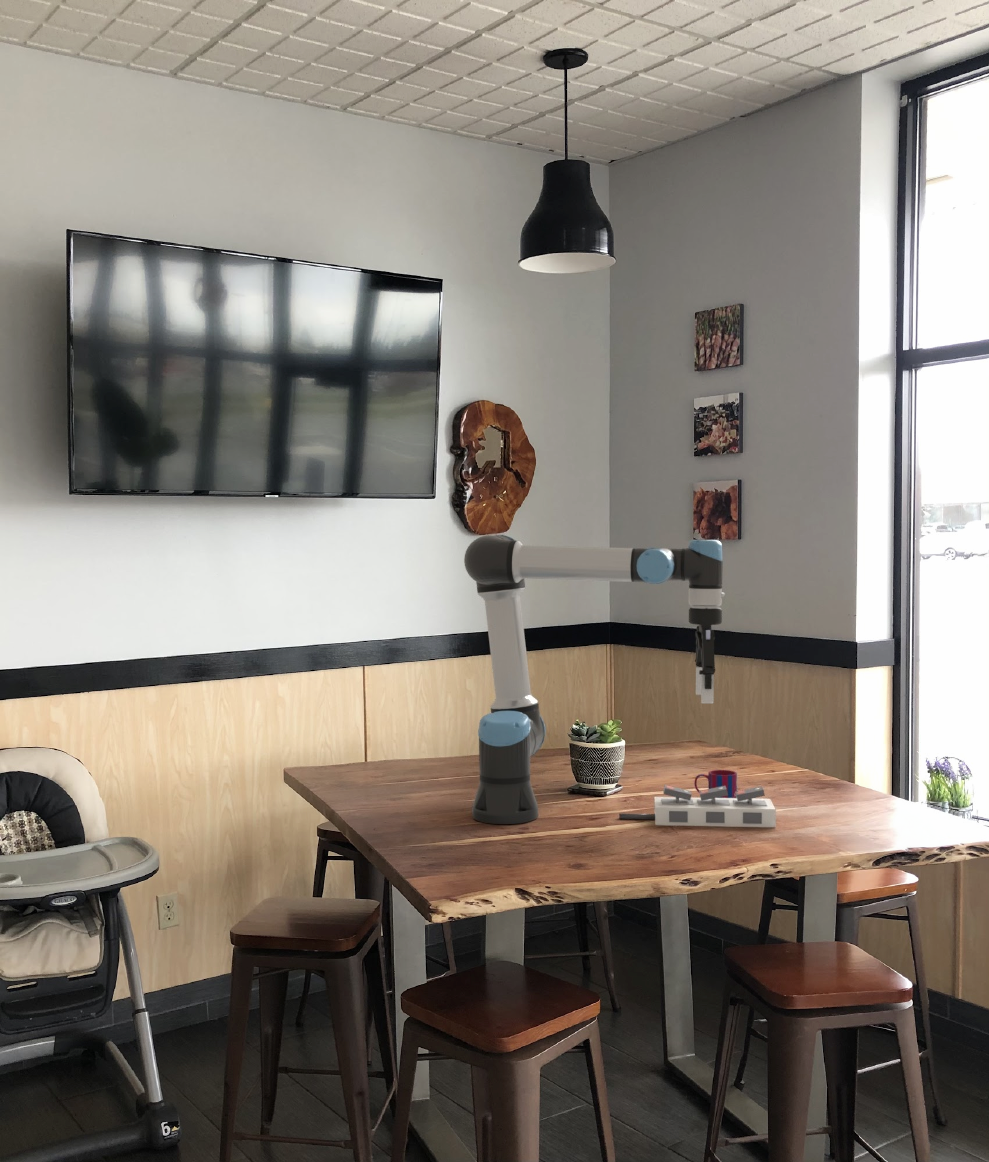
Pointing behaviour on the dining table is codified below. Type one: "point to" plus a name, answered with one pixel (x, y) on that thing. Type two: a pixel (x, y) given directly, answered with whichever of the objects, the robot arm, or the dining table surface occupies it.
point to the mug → (721, 781)
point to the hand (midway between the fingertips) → (704, 699)
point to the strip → (710, 812)
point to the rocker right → (749, 793)
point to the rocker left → (677, 792)
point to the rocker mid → (713, 793)
